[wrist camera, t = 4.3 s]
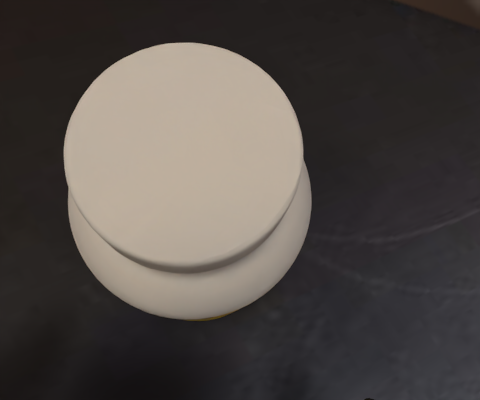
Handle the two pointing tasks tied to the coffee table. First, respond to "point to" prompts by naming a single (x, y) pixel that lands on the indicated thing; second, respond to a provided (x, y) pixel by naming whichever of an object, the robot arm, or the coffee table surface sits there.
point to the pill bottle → (186, 181)
